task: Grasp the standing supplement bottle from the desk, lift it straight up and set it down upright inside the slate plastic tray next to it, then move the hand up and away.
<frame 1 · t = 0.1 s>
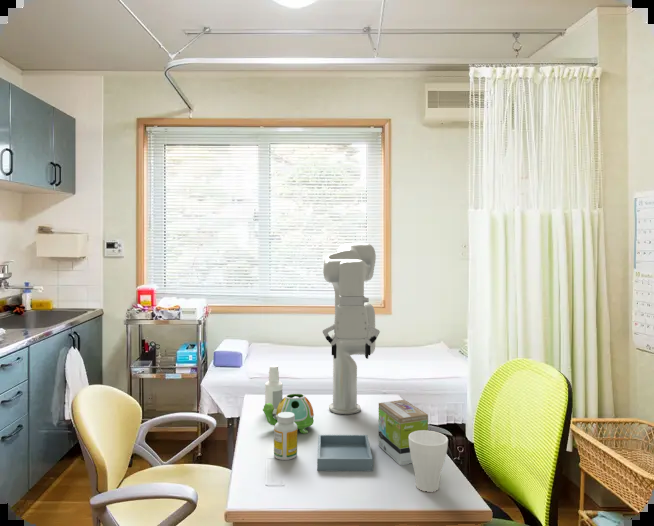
hand: (350, 357, 147), 31 cm above the table, tool pointing down, fingers open, 9 cm apart
tea box: (402, 454, 152), on the table
supplement bottle: (285, 456, 150), on the table
tray: (343, 457, 149), on the table
turtle holder: (290, 429, 172), on the table
cup: (427, 487, 131), on the table
spray bottle: (273, 412, 190), on the table
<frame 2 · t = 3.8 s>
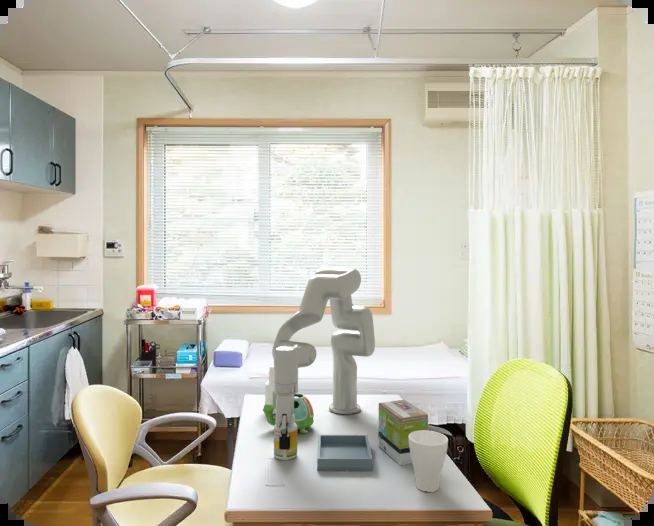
hand: (285, 443, 150), 4 cm above the table, tool pointing down, fingers closed on supplement bottle, 7 cm apart
supplement bottle: (285, 456, 150), on the table, touching gripper
everything else where it was.
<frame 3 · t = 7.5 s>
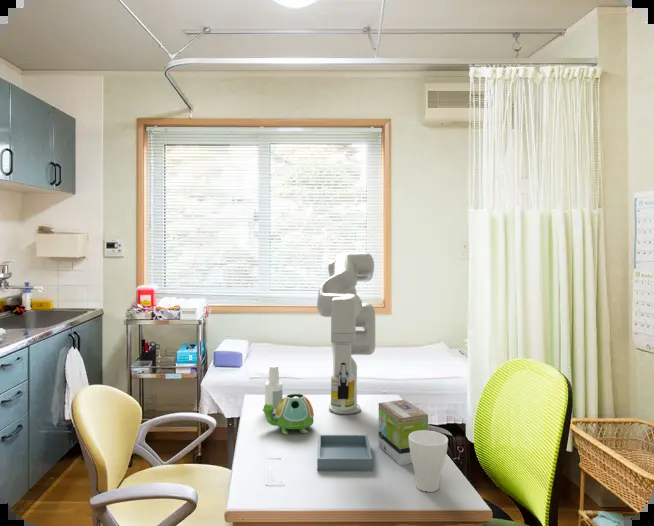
hand: (342, 394, 149), 20 cm above the table, tool pointing down, fingers closed on supplement bottle, 7 cm apart
supplement bottle: (342, 407, 149), point 16 cm above the table, touching gripper
everything else where it was.
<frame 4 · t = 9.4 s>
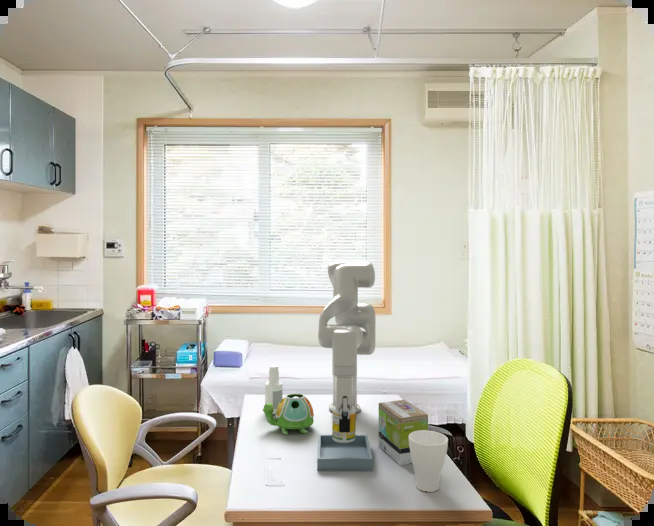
hand: (344, 426, 149), 10 cm above the table, tool pointing down, fingers closed on supplement bottle, 7 cm apart
supplement bottle: (343, 439, 149), point 6 cm above the table, touching gripper
everything else where it was.
when the fingers open (7 cm above the table, at t = 11.0 s): supplement bottle drops 2 cm, resting on tray.
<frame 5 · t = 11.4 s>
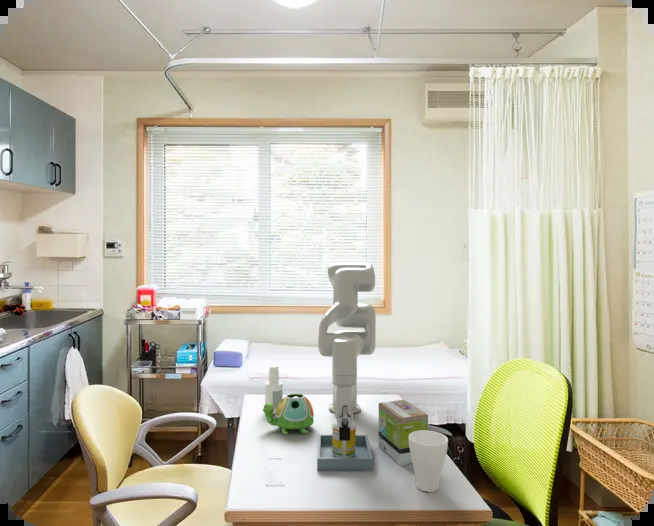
hand: (343, 433, 149), 7 cm above the table, tool pointing down, fingers open, 9 cm apart
supplement bottle: (343, 455, 149), point 1 cm above the table, touching tray
everything else where it was.
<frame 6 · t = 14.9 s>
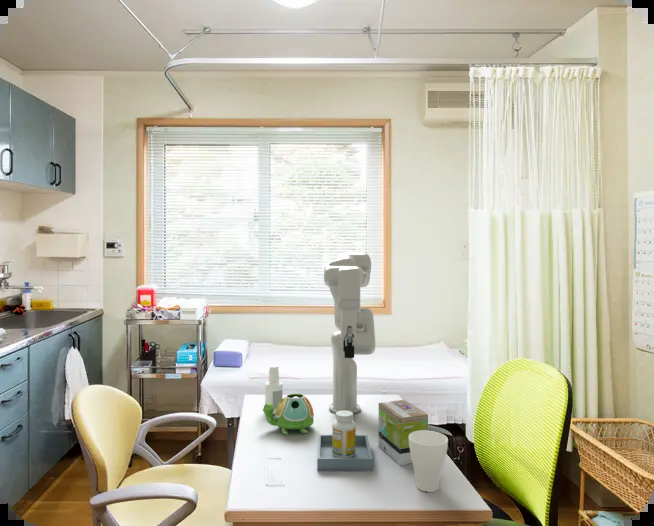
hand: (348, 354, 164), 28 cm above the table, tool pointing down, fingers open, 9 cm apart
nothing on the table moved.
at the end: supplement bottle inside the target area on the tray (0.3 cm from its centre), point 0.6 cm above the tray's base; supplement bottle tilted 0°; the gripper is holding nothing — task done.
